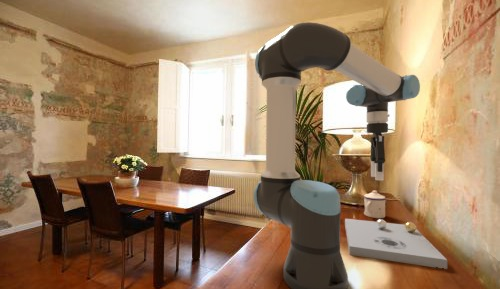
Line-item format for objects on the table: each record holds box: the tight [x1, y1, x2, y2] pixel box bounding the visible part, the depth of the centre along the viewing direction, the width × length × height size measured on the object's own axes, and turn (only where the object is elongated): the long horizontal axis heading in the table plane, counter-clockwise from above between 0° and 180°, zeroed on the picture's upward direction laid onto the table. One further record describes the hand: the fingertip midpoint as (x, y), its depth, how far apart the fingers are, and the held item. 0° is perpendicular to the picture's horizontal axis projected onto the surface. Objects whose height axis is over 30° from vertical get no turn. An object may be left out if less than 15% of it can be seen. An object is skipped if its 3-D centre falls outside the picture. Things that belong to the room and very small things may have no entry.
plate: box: [344, 218, 448, 270], centre depth 79 cm, size 28×24×2 cm
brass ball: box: [404, 221, 417, 232], centre depth 81 cm, size 3×3×3 cm
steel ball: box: [375, 218, 388, 229], centre depth 84 cm, size 3×3×3 cm
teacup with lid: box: [363, 190, 387, 219], centre depth 108 cm, size 12×9×12 cm
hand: (376, 178), depth 93 cm, fingers open, 10 cm apart
